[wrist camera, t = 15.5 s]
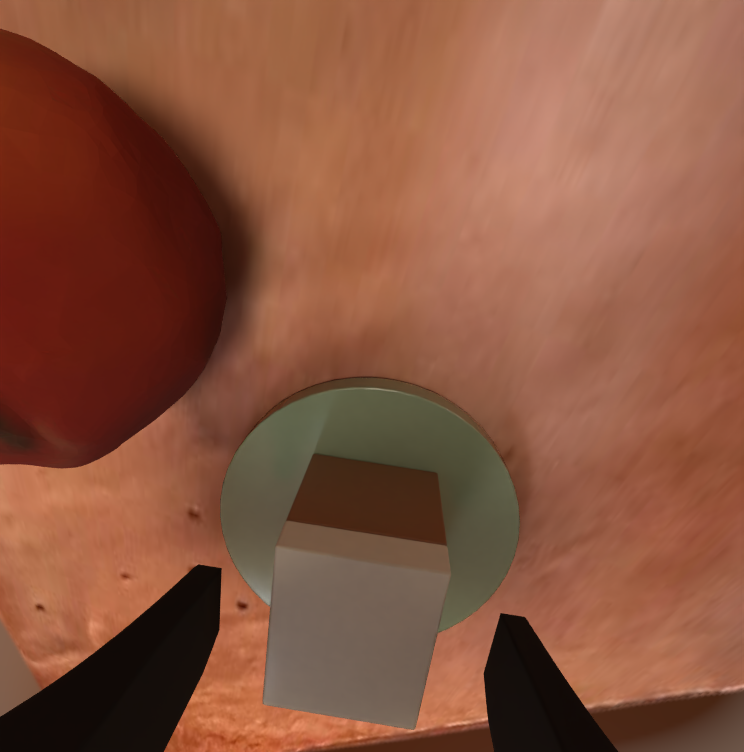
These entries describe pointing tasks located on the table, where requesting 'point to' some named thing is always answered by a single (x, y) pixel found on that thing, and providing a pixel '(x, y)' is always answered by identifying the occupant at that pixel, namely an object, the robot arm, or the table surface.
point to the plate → (382, 446)
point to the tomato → (93, 265)
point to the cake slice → (357, 592)
